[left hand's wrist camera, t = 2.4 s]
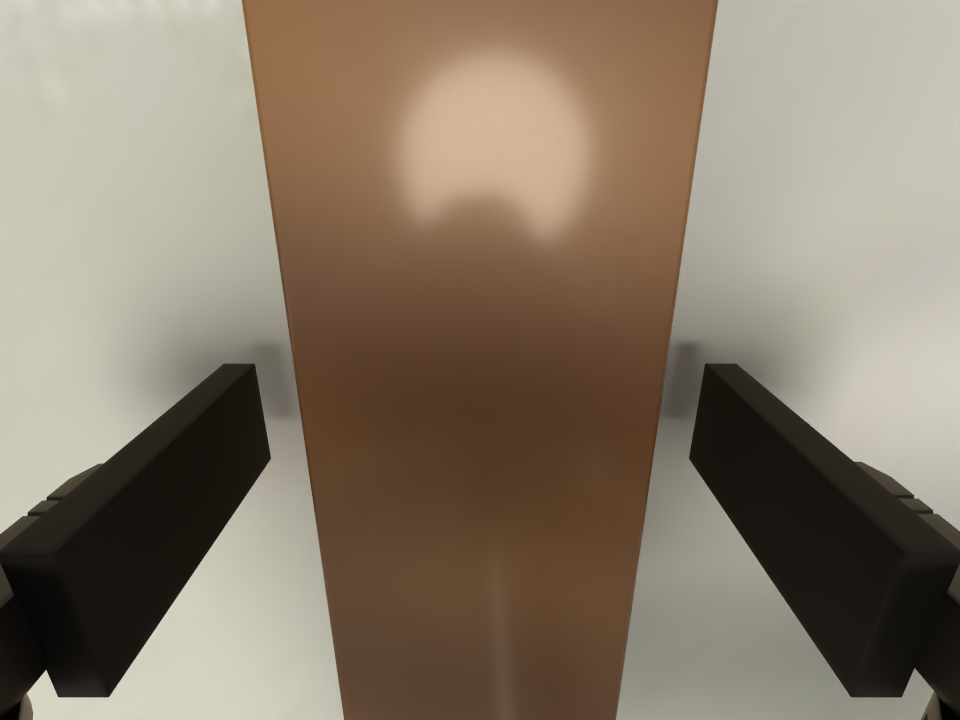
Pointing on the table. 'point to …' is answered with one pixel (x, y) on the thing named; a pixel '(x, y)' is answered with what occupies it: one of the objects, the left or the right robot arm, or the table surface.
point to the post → (480, 327)
